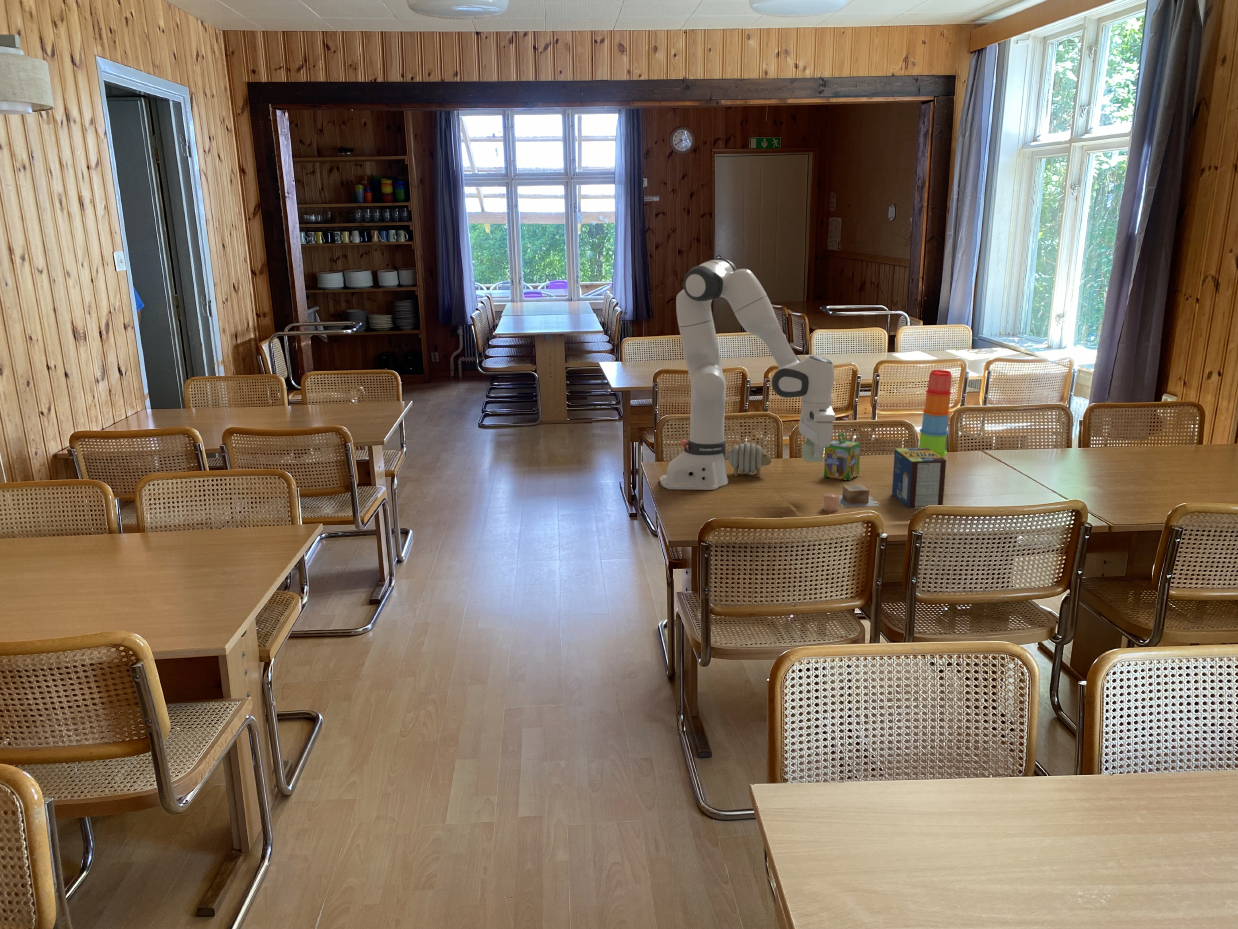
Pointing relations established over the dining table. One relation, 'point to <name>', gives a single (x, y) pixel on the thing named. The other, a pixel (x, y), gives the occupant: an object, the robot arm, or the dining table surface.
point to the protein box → (918, 477)
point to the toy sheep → (748, 458)
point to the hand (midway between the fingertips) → (812, 454)
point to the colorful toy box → (842, 459)
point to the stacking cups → (936, 412)
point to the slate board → (846, 504)
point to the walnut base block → (855, 494)
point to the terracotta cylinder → (831, 502)
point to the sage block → (811, 453)
